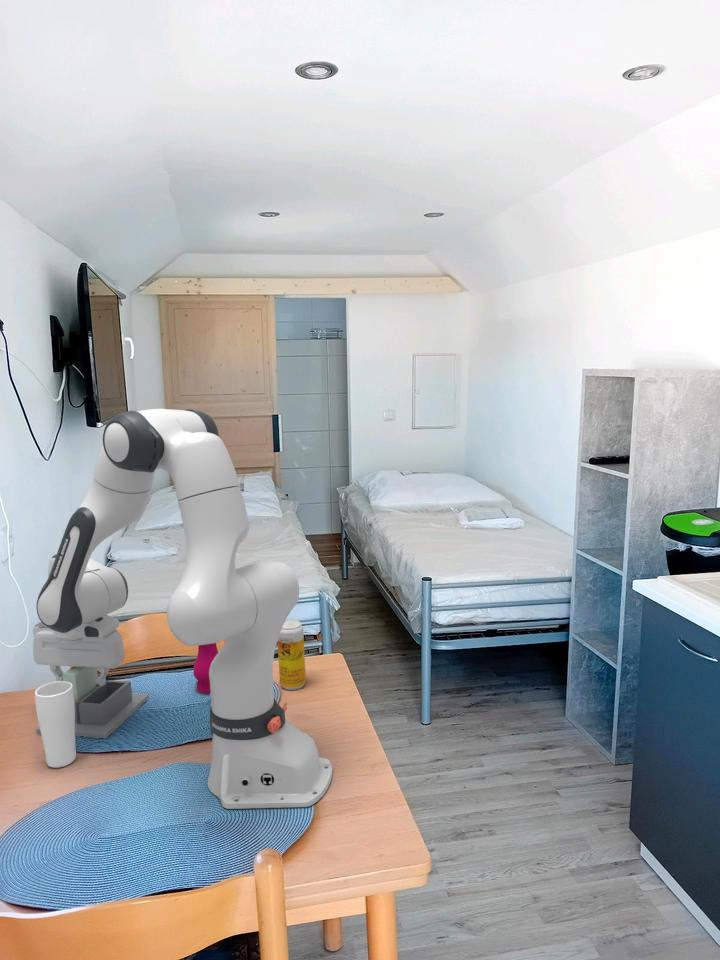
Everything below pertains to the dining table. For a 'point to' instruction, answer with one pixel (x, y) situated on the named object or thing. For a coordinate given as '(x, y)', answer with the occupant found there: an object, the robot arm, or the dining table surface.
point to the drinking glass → (57, 722)
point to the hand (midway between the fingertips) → (81, 684)
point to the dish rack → (105, 709)
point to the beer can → (291, 656)
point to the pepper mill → (204, 666)
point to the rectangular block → (81, 680)
